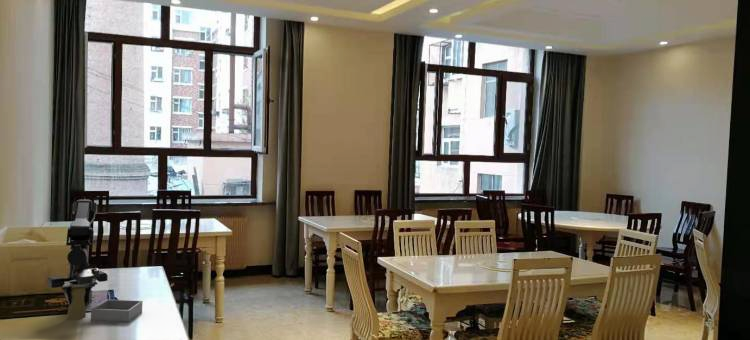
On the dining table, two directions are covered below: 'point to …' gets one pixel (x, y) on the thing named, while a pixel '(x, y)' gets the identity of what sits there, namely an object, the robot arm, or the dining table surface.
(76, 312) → the cork
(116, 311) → the bin
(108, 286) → the dining table surface
